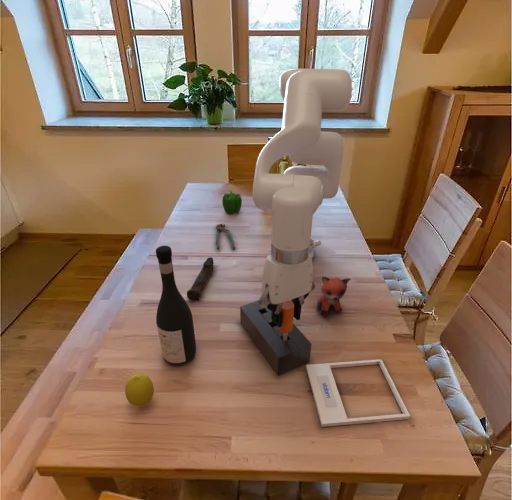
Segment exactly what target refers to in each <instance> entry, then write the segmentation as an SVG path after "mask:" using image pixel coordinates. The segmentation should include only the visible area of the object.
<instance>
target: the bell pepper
mask: <svg viewBox="0 0 512 500" xmlns="http://www.w3.org/2000/svg"><path fill="white" fill-rule="evenodd" d="M228 191H229V193H225V194H223V196H222V200H221V201H222V203H221V204H222V206H223V209H224V212H225V213H226V214H228V215H229V216H230V215H235V214H239V213H240V211H241V209H242V205H243V201H242V200H243V198H242V197H241V194H240V193H237V194H236V193H235V192H233V189H231V188H230V189H228Z"/></svg>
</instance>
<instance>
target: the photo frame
mask: <svg viewBox="0 0 512 500" xmlns="http://www.w3.org/2000/svg"><path fill="white" fill-rule="evenodd" d="M373 365H374V366H375V365H379V367H380V369H381V371H382V373H383V375H384V378H385V379H386V381H387V384H388V386H389V387H390V390H391V392H392V394H393V396H394V398H395V400H396V402H397V404H398V406H399V408H400V410H401V412H402V413H397V414H396V413H395V414H384V415H383V414H382V415H373V416H361V417H349V418H348V416H347V413H346V410H345V407H344V405H343V401H342V399H341V396H340V393H339V390H338V387H337V383H336V380H335V378H334V375H333V372H332V369H333V368H334V369H335V368H336V369H337V368H347V367H360V366H361V367H362V366H373ZM305 370H306V374H307V378H308V380H309V385H310V389H311V392H312V396H313V400H314V404H315V408H316V411H317V415H318V419H319V423H320V426H321V427H322V428H324V427H334V426H336V427H337V426H347V425H357V424H368V423H379V422H381V423H382V422H389V421H390V422H392V421H402V420H410V419H411V414H410V413H409V411H408V409H407V407H406V405H405V402H404V401H403V399H402V397H401V395H400V393H399V392H398V389H397V387H396V385H395V383H394V381H393V379H392V377H391V375H390V373H389V371H388V369H387V367H386V365H385V363H384V360H383V359H382V358H378V359H364V360H353V361H351V360H350V361H338V362H327V363H326V362H324V363H312V364H305Z"/></svg>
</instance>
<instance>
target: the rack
mask: <svg viewBox="0 0 512 500" xmlns="http://www.w3.org/2000/svg"><path fill="white" fill-rule="evenodd" d="M270 300H271V299H270V298H269V300H268V301H270ZM258 301H259V299H258V300H254V301H252V302H249V303H246V304H243V305H241V306H239V312H240V316H239V317H240V325H241V327H242V328H243V329H244V330H245V332H246V333H247V335H248V337H249V338H250V339H251V340H252V342H253V343H254V345H255V346H256V347H257V349H258V350H259V352H260V353H261V354H262V356H263V357H264V359H265V360H266V361H267V363H268V364H269V366H270V367H271V369H272V370H273V371H274V373H275V374H276V376H278V377H279V376H281V375H284V374H285V373H288V372H290V371H292V370H294V369H295V370H296V368H300V367H301V366H304V365H307V364H308V363H310V362H311V354H312V353H311V352H312V342H311V341H310V340H309V339H308V338H307V336H305V334H304V333H303V332H302V331H301V330H300V329H299V328H298V326H296V324H294V323H293V330H292V331H291V332H290V333H288V334H287V341H285V342H283V333H282V332H281V331H280V330H279V327H278V326H277V325H276V323H274V322H273V321H272V319H271V315H272V311H271V310H269V309H268V308H262V307H260V306H259V304H258ZM275 305H276V304H275Z"/></svg>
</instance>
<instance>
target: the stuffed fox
mask: <svg viewBox="0 0 512 500" xmlns="http://www.w3.org/2000/svg"><path fill="white" fill-rule="evenodd" d="M321 281H322V284H321V285H320V291H321V293H322V294H321V295H320V296H319V298H318V299H317V306H316V307H317V309H318V311H319V312H320V316H321V317H324V318H327V317H326V316H327V315H328V314H329V312H330V308H331V306H332V307H333V309H334V310H335V312H336V313H343V309H342V306H341V302H340V300H341V299H343V297H344V296H345V294H346V291H347V288H348V283H349V281H351V278H349V277H346V278H343V279H342V278H339V277H331V278H329V277H327V276H325V275H324V276H321Z"/></svg>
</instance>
